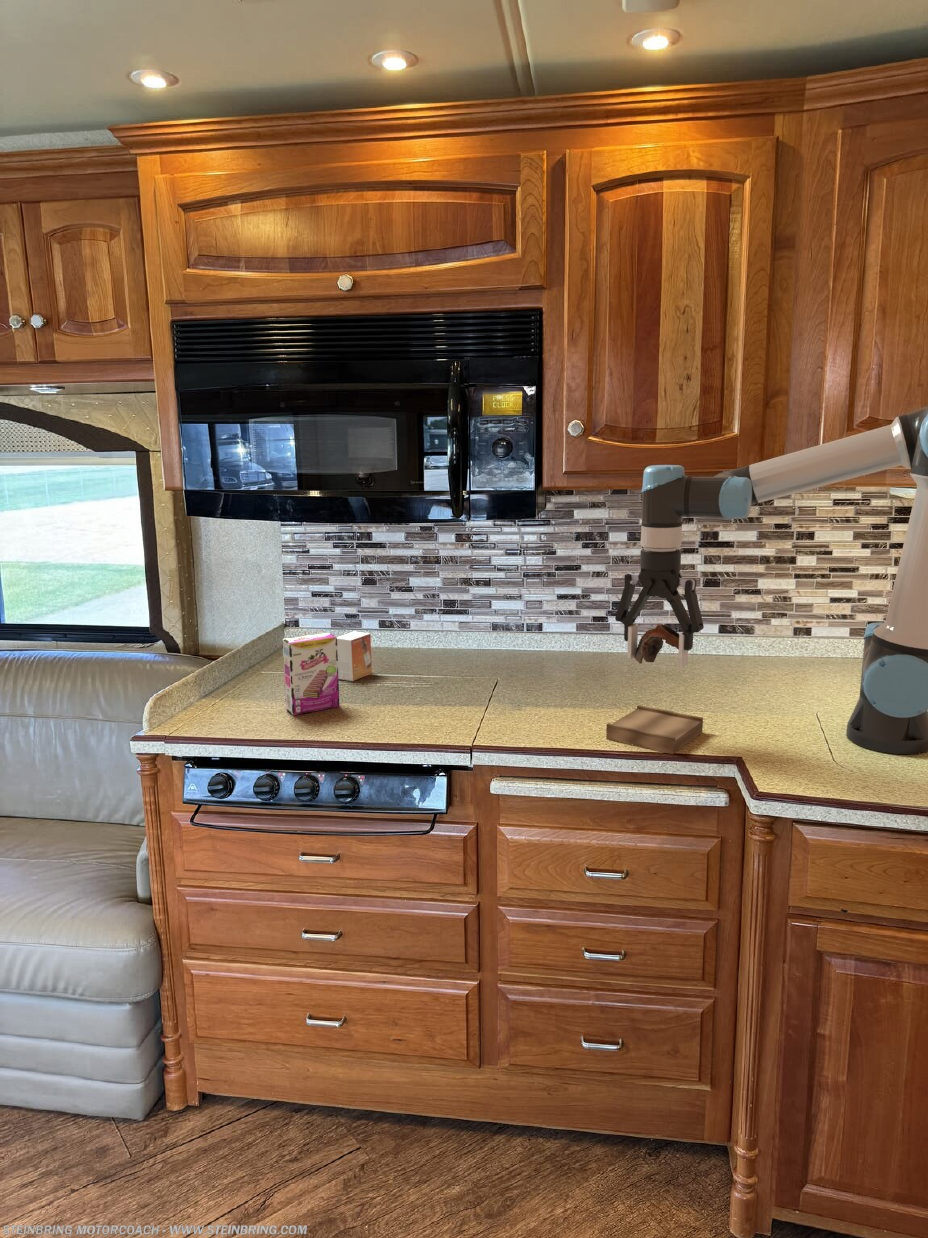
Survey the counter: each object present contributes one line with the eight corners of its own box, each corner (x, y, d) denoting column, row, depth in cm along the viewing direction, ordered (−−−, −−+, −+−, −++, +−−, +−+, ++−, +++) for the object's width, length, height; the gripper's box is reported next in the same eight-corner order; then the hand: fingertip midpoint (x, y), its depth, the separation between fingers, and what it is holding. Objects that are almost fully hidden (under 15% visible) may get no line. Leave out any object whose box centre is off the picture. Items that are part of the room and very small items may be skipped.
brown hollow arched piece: (639, 654, 178) (661, 620, 176) (677, 681, 173) (700, 646, 171) (618, 653, 167) (641, 617, 165) (658, 682, 163) (682, 645, 161)
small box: (352, 682, 212) (350, 640, 210) (335, 679, 215) (332, 637, 213) (372, 673, 219) (371, 633, 217) (355, 670, 222) (353, 630, 220)
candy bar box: (293, 716, 189) (288, 643, 185) (285, 710, 193) (280, 638, 189) (341, 707, 194) (337, 635, 191) (332, 701, 198) (328, 631, 195)
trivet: (702, 732, 175) (703, 717, 174) (672, 754, 164) (673, 738, 163) (638, 719, 183) (638, 705, 182) (606, 739, 172) (606, 724, 171)
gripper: (726, 550, 161) (720, 666, 166) (616, 541, 174) (614, 649, 180) (710, 555, 155) (704, 675, 160) (598, 546, 169) (596, 657, 174)
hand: (657, 661), depth 170 cm, fingers closed on brown hollow arched piece, 10 cm apart
